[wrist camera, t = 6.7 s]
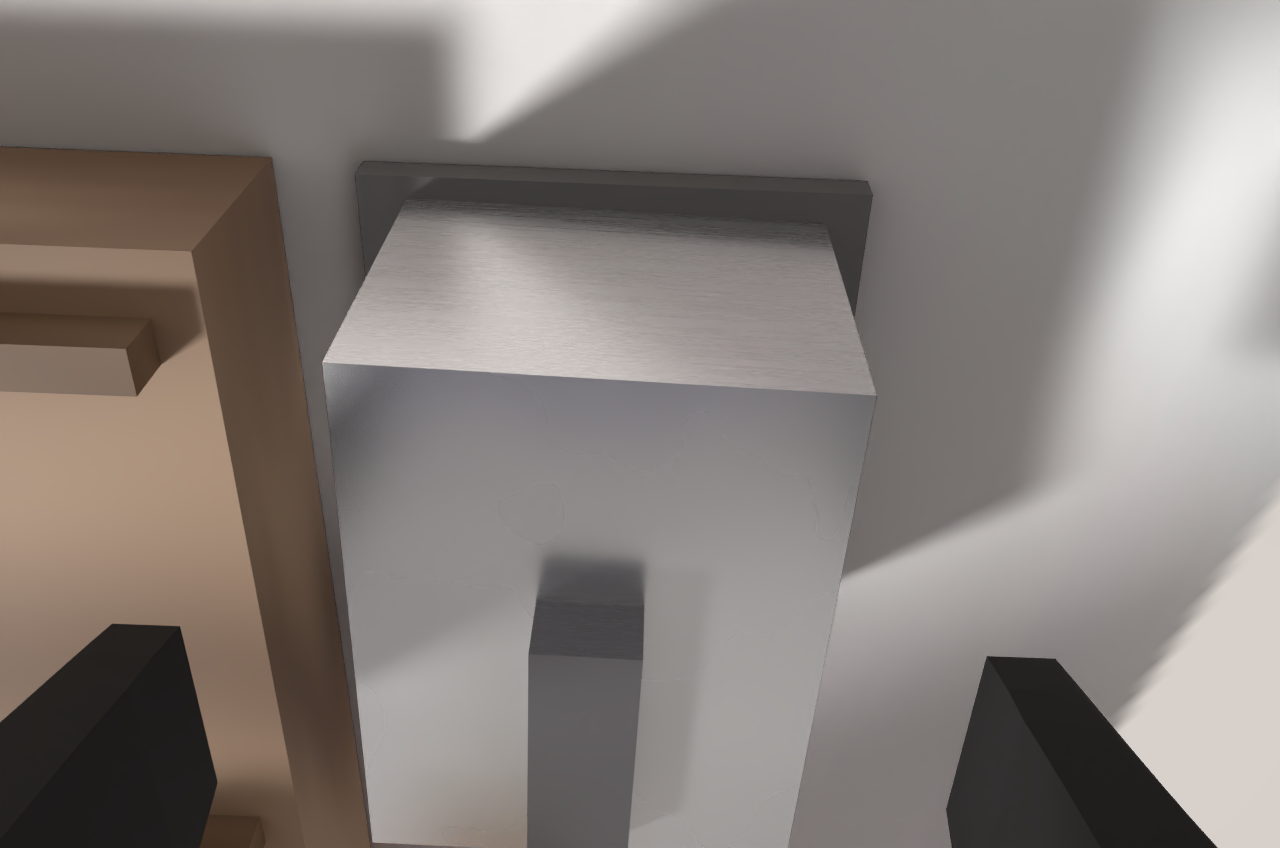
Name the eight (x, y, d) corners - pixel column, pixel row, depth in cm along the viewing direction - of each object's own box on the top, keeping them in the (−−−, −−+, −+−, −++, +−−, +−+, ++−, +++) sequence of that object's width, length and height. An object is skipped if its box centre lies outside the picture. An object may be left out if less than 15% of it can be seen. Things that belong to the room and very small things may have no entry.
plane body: (371, 860, 19) (261, 1294, 14) (8, 846, 19) (-238, 1276, 14) (271, 157, 12) (-6, 481, 7) (-280, 135, 12) (-943, 444, 7)
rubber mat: (797, 653, 16) (800, 673, 16) (410, 637, 16) (405, 658, 16) (867, 181, 13) (871, 194, 12) (363, 161, 12) (354, 174, 12)
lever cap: (761, 636, 16) (790, 921, 12) (430, 617, 16) (357, 899, 12) (825, 223, 12) (890, 442, 9) (406, 196, 12) (298, 408, 9)
